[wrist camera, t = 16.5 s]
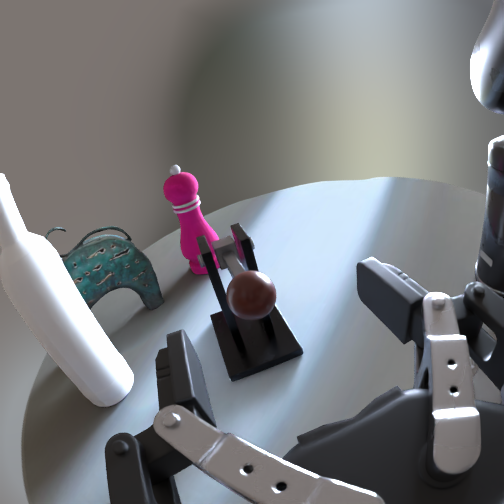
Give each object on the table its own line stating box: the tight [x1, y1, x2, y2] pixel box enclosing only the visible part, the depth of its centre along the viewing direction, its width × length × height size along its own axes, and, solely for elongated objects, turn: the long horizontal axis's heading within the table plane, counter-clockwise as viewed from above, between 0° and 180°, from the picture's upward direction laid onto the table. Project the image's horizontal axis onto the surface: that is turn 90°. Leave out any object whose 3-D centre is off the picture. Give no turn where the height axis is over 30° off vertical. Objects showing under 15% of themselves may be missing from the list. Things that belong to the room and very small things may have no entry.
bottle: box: [0, 174, 133, 407], centre depth 27 cm, size 8×8×30 cm
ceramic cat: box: [45, 226, 164, 310], centre depth 41 cm, size 20×6×20 cm, turn 131°
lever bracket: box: [196, 223, 303, 382], centre depth 34 cm, size 12×9×15 cm
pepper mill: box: [163, 165, 220, 274], centre depth 52 cm, size 7×7×20 cm
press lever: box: [211, 236, 276, 320], centre depth 26 cm, size 14×4×4 cm, turn 17°
